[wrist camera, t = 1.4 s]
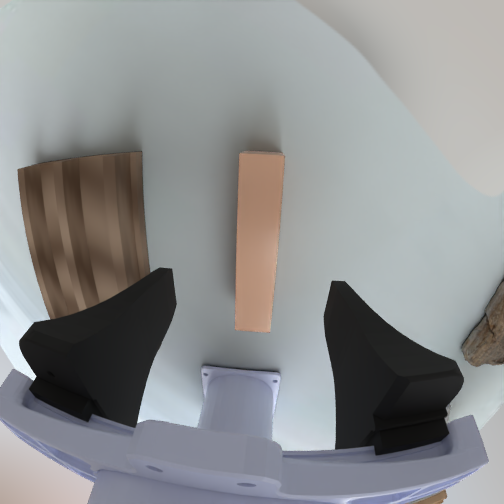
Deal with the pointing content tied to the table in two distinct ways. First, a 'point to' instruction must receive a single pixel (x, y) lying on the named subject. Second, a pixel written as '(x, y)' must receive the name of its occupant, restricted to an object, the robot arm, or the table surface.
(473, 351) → the brown rock
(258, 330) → the light brown long block
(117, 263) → the walnut rack
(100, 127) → the table surface
